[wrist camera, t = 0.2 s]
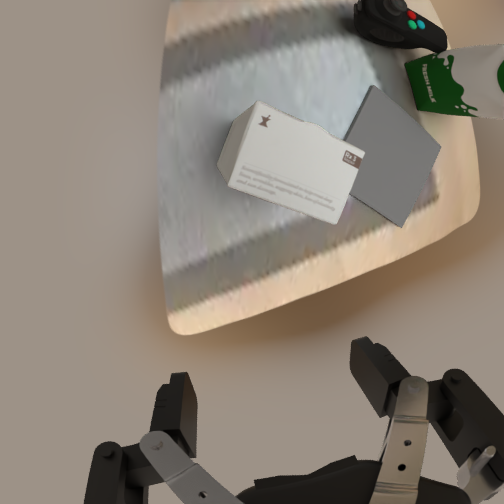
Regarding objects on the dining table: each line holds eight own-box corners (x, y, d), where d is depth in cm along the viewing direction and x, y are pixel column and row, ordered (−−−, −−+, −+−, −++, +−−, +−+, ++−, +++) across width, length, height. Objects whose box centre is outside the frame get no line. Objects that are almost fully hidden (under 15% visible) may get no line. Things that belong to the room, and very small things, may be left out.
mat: (370, 85, 27) (374, 85, 27) (437, 146, 31) (441, 146, 31) (323, 177, 32) (325, 178, 31) (398, 226, 35) (401, 228, 35)
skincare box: (215, 166, 30) (215, 190, 16) (234, 116, 28) (252, 95, 14) (284, 190, 32) (336, 232, 18) (303, 143, 30) (370, 151, 16)
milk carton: (397, 58, 26) (515, 35, 8) (438, 58, 26) (543, 50, 7) (414, 117, 29) (537, 130, 11) (452, 111, 29) (559, 126, 11)
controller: (337, 9, 23) (375, -22, 14) (413, 40, 24) (460, 27, 15) (336, 34, 24) (377, 7, 15) (414, 64, 26) (463, 55, 17)
